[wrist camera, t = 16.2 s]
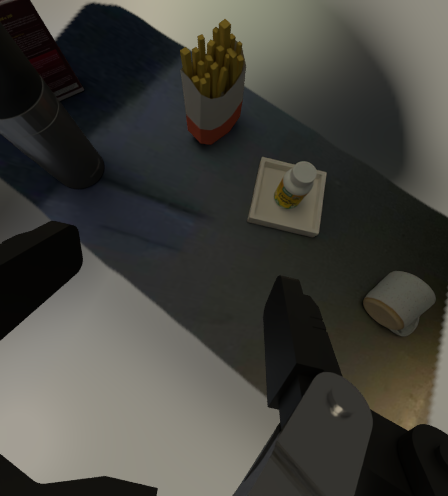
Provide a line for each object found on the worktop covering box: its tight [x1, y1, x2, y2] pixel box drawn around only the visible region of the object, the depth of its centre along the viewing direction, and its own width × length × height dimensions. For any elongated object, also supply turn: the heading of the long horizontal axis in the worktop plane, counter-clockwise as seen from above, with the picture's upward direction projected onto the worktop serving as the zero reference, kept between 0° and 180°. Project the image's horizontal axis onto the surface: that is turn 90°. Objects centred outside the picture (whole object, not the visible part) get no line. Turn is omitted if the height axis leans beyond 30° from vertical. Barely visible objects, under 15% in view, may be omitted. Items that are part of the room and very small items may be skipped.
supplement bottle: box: [274, 161, 317, 210], centre depth 41 cm, size 5×5×10 cm
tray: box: [247, 157, 327, 238], centre depth 45 cm, size 14×14×2 cm
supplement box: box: [0, 0, 84, 101], centre depth 41 cm, size 9×5×16 cm, turn 124°
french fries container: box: [180, 19, 246, 145], centre depth 40 cm, size 5×11×18 cm, turn 131°
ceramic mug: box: [363, 271, 436, 336], centre depth 39 cm, size 11×8×8 cm
